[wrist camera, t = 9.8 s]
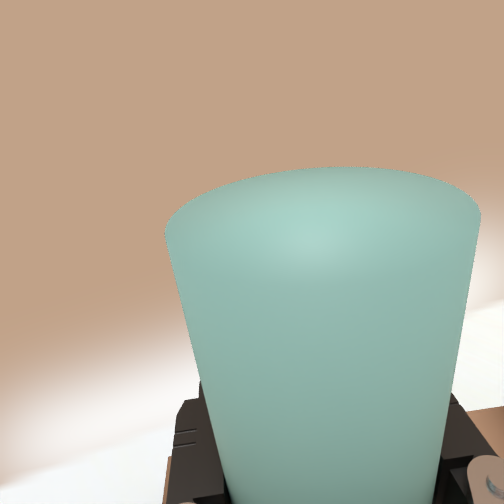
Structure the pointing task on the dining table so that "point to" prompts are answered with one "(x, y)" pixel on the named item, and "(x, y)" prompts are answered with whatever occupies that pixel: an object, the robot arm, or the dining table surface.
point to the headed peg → (327, 328)
